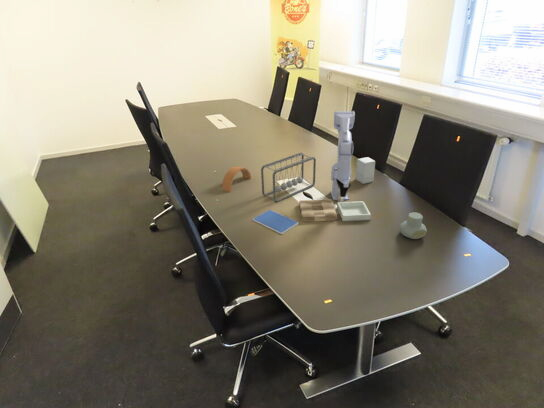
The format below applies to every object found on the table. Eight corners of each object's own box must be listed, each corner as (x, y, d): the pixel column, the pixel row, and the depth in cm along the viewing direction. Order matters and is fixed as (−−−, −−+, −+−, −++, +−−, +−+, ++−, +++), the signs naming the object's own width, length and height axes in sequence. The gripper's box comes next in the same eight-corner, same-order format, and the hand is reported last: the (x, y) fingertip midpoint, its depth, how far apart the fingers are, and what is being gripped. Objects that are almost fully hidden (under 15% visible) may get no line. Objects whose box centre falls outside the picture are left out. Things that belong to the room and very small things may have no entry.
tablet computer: (251, 221, 171) (251, 218, 170) (269, 210, 178) (269, 208, 178) (281, 236, 159) (281, 233, 158) (299, 224, 167) (299, 222, 166)
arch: (222, 190, 199) (220, 173, 194) (243, 176, 214) (242, 161, 209) (230, 192, 196) (228, 176, 192) (251, 178, 211) (250, 163, 206)
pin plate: (299, 204, 182) (299, 200, 180) (330, 203, 182) (330, 199, 181) (302, 221, 168) (303, 217, 166) (336, 219, 168) (337, 215, 167)
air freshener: (406, 242, 151) (410, 222, 146) (395, 232, 158) (398, 212, 153) (428, 237, 153) (433, 218, 148) (416, 227, 160) (420, 208, 155)
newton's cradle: (274, 203, 184) (273, 172, 175) (261, 196, 191) (260, 166, 182) (315, 186, 200) (316, 156, 191) (302, 180, 207) (302, 151, 198)
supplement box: (373, 181, 202) (376, 161, 196) (362, 184, 200) (364, 163, 194) (366, 176, 208) (368, 156, 202) (355, 179, 206) (357, 158, 200)
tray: (337, 207, 178) (337, 202, 177) (363, 206, 178) (363, 201, 177) (342, 221, 167) (343, 215, 165) (370, 220, 167) (370, 214, 165)
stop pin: (334, 198, 172) (337, 181, 167) (343, 198, 172) (346, 181, 167) (336, 202, 168) (338, 185, 164) (345, 202, 168) (347, 185, 164)
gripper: (332, 161, 168) (331, 187, 174) (338, 174, 155) (336, 201, 162) (347, 161, 168) (345, 187, 175) (354, 174, 155) (351, 201, 162)
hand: (342, 194), depth 168 cm, fingers closed on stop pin, 4 cm apart
